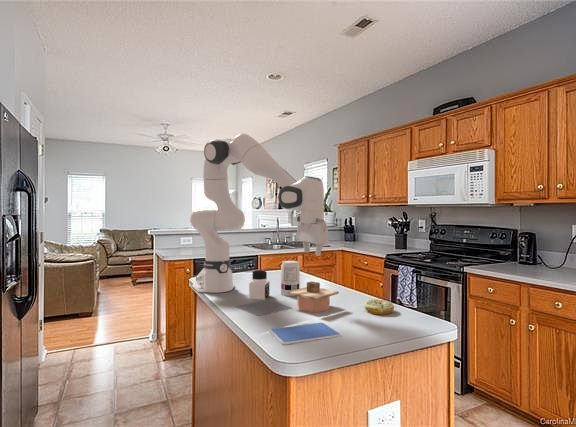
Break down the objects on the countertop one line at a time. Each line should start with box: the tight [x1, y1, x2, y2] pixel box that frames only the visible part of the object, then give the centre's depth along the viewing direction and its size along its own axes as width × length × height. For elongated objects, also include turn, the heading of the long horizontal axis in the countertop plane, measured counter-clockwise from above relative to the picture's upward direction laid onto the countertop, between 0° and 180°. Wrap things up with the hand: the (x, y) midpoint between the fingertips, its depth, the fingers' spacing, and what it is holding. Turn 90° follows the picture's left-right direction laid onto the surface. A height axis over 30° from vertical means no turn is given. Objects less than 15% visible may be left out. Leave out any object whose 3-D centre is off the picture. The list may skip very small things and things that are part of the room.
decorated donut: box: [363, 298, 395, 316], centre depth 132 cm, size 10×11×4 cm
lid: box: [288, 281, 340, 300], centre depth 135 cm, size 14×14×4 cm
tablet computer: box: [268, 322, 342, 346], centre depth 108 cm, size 19×13×1 cm, turn 112°
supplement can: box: [280, 260, 301, 297], centre depth 157 cm, size 8×8×15 cm
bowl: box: [296, 296, 331, 313], centre depth 135 cm, size 12×12×6 cm
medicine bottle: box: [248, 269, 270, 301], centre depth 151 cm, size 7×7×12 cm
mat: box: [234, 299, 293, 317], centre depth 135 cm, size 16×16×1 cm
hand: (312, 254), depth 136 cm, fingers open, 8 cm apart
